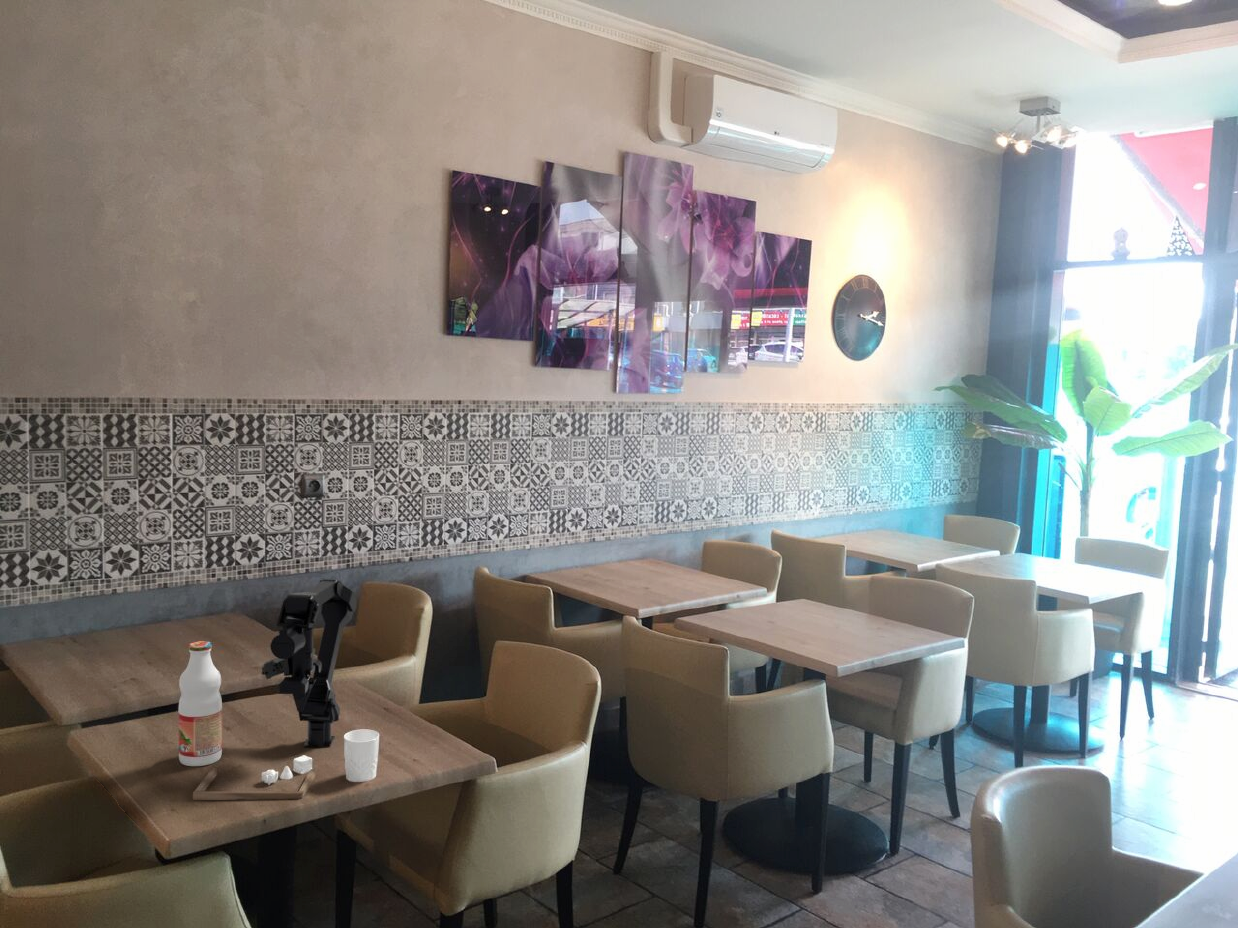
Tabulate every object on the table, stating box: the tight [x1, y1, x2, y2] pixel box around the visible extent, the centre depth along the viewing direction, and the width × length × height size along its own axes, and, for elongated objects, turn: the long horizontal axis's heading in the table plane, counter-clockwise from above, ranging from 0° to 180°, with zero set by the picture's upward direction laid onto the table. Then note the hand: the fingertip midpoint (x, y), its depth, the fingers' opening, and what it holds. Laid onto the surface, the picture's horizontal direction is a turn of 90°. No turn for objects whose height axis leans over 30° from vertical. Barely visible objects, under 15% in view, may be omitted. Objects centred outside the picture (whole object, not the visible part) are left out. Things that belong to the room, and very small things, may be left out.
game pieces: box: [261, 754, 314, 786], centre depth 229 cm, size 12×3×3 cm, turn 144°
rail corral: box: [192, 768, 316, 801], centre depth 223 cm, size 13×23×2 cm, turn 95°
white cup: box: [343, 728, 380, 783], centre depth 230 cm, size 8×8×10 cm
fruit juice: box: [178, 640, 223, 767], centre depth 235 cm, size 9×9×28 cm
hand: (300, 710), depth 238 cm, fingers closed
